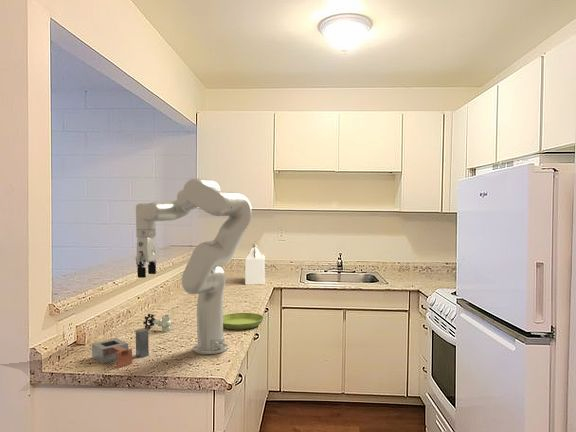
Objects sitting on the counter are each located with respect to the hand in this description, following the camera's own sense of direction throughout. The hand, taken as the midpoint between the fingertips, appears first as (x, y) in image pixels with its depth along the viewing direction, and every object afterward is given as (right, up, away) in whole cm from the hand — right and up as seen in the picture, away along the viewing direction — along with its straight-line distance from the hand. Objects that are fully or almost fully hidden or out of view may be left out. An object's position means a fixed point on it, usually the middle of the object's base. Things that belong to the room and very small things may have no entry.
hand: (147, 275), depth 181 cm
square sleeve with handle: (-3, -26, -26) cm, 37 cm away
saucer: (+36, -25, +20) cm, 48 cm away
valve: (+2, -25, +11) cm, 28 cm away
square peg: (+5, -26, -22) cm, 34 cm away
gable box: (+34, -22, +131) cm, 137 cm away
